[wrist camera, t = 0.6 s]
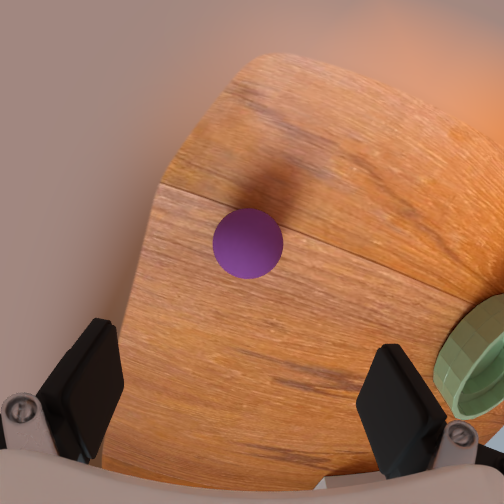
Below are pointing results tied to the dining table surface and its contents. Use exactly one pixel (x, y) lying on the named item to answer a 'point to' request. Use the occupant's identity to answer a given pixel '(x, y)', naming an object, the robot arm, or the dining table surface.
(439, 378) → the green bowl
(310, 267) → the dining table surface
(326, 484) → the tray
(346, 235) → the dining table surface
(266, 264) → the ball
